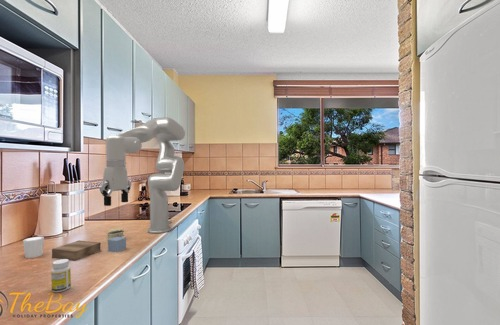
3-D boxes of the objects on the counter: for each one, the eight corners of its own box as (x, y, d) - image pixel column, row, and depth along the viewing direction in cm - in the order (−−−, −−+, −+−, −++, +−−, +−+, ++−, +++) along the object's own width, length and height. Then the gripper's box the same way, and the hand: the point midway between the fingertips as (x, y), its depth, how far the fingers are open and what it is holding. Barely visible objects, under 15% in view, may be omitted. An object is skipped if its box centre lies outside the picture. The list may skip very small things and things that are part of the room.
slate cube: (116, 247, 120) (116, 236, 120) (126, 248, 119) (126, 237, 119) (108, 251, 115) (107, 239, 115) (117, 252, 114) (117, 240, 114)
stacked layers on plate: (114, 244, 126) (114, 232, 126) (100, 242, 129) (99, 231, 129) (130, 238, 135) (130, 227, 135) (116, 237, 138) (116, 226, 138)
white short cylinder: (27, 253, 113) (27, 237, 113) (46, 251, 115) (46, 235, 115) (19, 259, 106) (19, 241, 106) (40, 257, 109) (40, 239, 109)
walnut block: (78, 249, 119) (78, 240, 119) (100, 251, 116) (100, 242, 116) (52, 258, 108) (51, 248, 108) (75, 261, 104) (75, 251, 104)
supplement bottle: (62, 284, 84) (62, 257, 84) (74, 286, 83) (74, 259, 83) (47, 291, 80) (47, 263, 80) (59, 293, 78) (59, 264, 78)
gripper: (123, 164, 126) (124, 200, 126) (92, 164, 109) (92, 206, 110) (137, 164, 124) (137, 201, 124) (107, 164, 107) (107, 207, 107)
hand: (116, 203), depth 117 cm, fingers open, 9 cm apart
